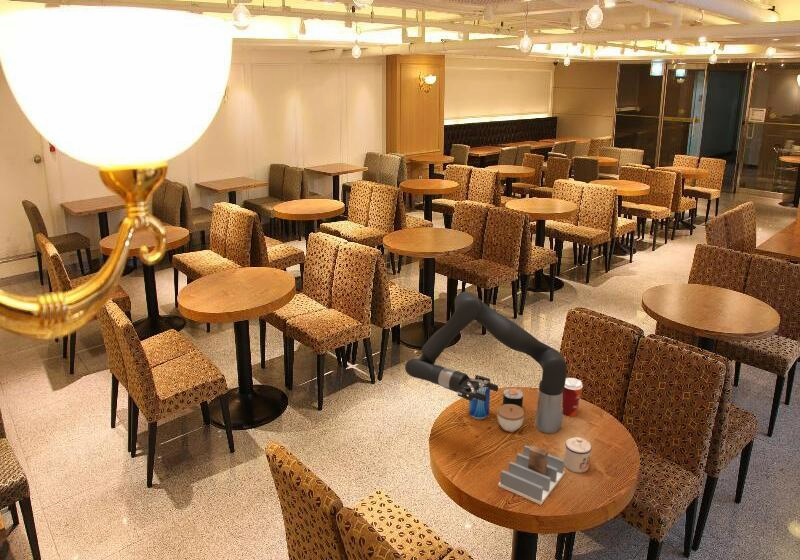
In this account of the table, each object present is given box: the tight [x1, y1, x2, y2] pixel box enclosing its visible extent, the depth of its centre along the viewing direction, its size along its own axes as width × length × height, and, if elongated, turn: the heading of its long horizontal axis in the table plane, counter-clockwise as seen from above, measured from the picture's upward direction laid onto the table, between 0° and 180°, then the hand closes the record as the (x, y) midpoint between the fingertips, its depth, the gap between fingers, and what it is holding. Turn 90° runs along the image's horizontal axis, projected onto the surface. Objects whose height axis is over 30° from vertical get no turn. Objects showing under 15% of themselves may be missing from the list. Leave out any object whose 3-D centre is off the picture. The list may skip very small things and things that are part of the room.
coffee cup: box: [561, 377, 583, 418], centre depth 246 cm, size 8×8×15 cm
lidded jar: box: [496, 404, 525, 433], centre depth 238 cm, size 11×11×9 cm
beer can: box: [468, 380, 491, 420], centre depth 245 cm, size 8×8×16 cm
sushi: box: [502, 388, 524, 409], centre depth 252 cm, size 8×8×8 cm
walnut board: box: [528, 445, 549, 476], centre depth 205 cm, size 6×3×12 cm, turn 54°
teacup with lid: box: [563, 436, 592, 474], centre depth 215 cm, size 12×9×12 cm
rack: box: [498, 445, 566, 506], centre depth 207 cm, size 16×20×6 cm
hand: (491, 393), depth 210 cm, fingers open, 8 cm apart
